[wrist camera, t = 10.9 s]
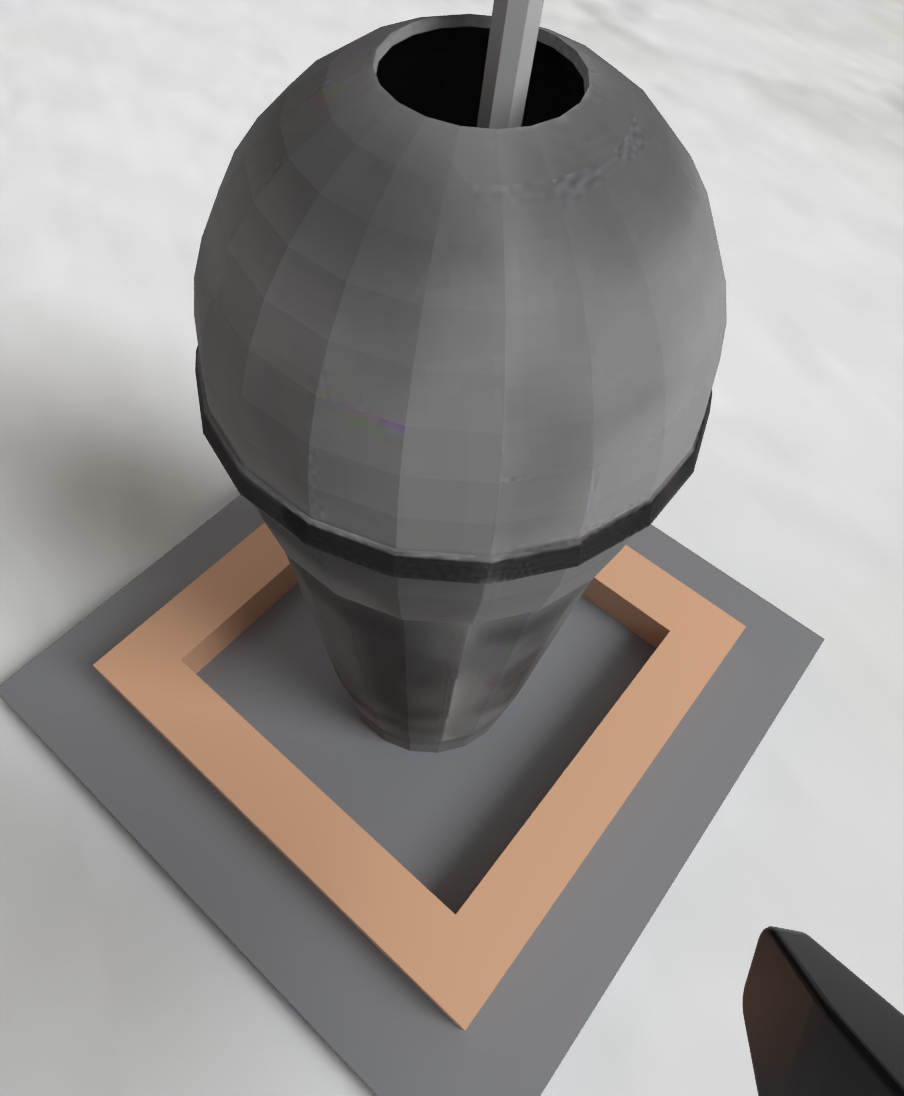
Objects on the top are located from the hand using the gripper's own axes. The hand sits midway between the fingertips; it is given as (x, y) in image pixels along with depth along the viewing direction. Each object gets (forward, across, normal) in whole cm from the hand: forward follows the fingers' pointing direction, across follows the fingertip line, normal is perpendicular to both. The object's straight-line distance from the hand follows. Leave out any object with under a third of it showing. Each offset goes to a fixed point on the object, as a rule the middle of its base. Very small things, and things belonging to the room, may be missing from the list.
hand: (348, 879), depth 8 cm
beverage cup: (+12, 0, +2) cm, 13 cm away
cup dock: (+13, 0, +3) cm, 13 cm away
